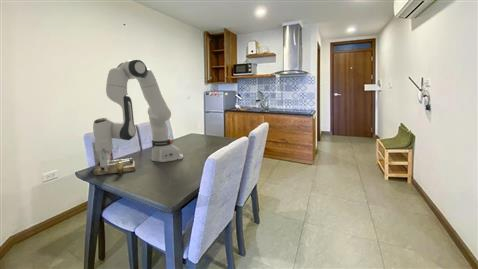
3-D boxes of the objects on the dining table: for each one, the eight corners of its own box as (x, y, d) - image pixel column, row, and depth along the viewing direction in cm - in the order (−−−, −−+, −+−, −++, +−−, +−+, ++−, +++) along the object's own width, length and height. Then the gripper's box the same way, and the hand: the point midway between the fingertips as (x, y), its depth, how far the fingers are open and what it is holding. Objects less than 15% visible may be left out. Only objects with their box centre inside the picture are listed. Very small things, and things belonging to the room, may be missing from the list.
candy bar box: (107, 161, 163) (104, 138, 159) (113, 162, 162) (111, 139, 158) (94, 167, 152) (91, 142, 149) (101, 167, 151) (98, 143, 148)
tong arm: (129, 162, 153) (128, 159, 152) (130, 163, 151) (130, 160, 151) (100, 169, 140) (100, 166, 139) (101, 170, 139) (101, 166, 138)
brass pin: (123, 172, 144) (122, 161, 142) (123, 174, 141) (122, 163, 139) (117, 173, 142) (116, 162, 141) (117, 174, 139) (116, 163, 138)
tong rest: (134, 164, 159) (134, 160, 158) (135, 170, 147) (134, 166, 147) (97, 168, 150) (96, 164, 150) (94, 175, 138) (93, 171, 138)
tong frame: (133, 161, 156) (132, 157, 156) (133, 163, 153) (132, 158, 153) (98, 165, 148) (98, 160, 148) (98, 166, 145) (97, 162, 145)
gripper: (108, 151, 126) (111, 175, 129) (111, 142, 144) (113, 164, 147) (95, 152, 124) (98, 177, 126) (99, 143, 142) (102, 165, 145)
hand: (106, 170), depth 137 cm, fingers closed
